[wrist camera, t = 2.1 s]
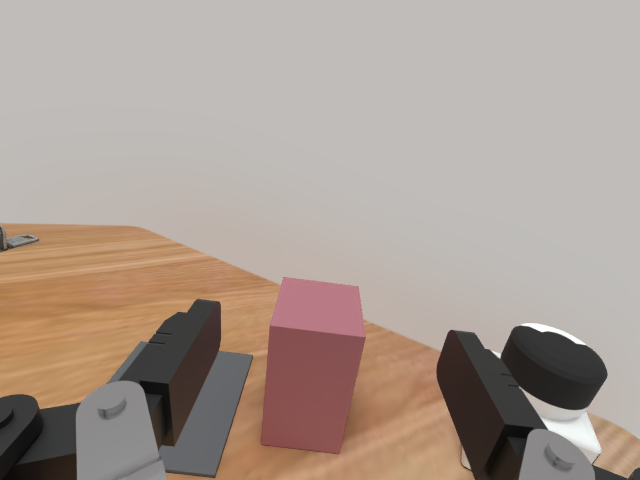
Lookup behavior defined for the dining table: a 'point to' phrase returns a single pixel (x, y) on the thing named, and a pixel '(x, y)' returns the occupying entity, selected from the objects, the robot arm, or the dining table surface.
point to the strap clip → (15, 240)
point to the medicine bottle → (556, 381)
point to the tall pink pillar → (312, 364)
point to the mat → (204, 415)
